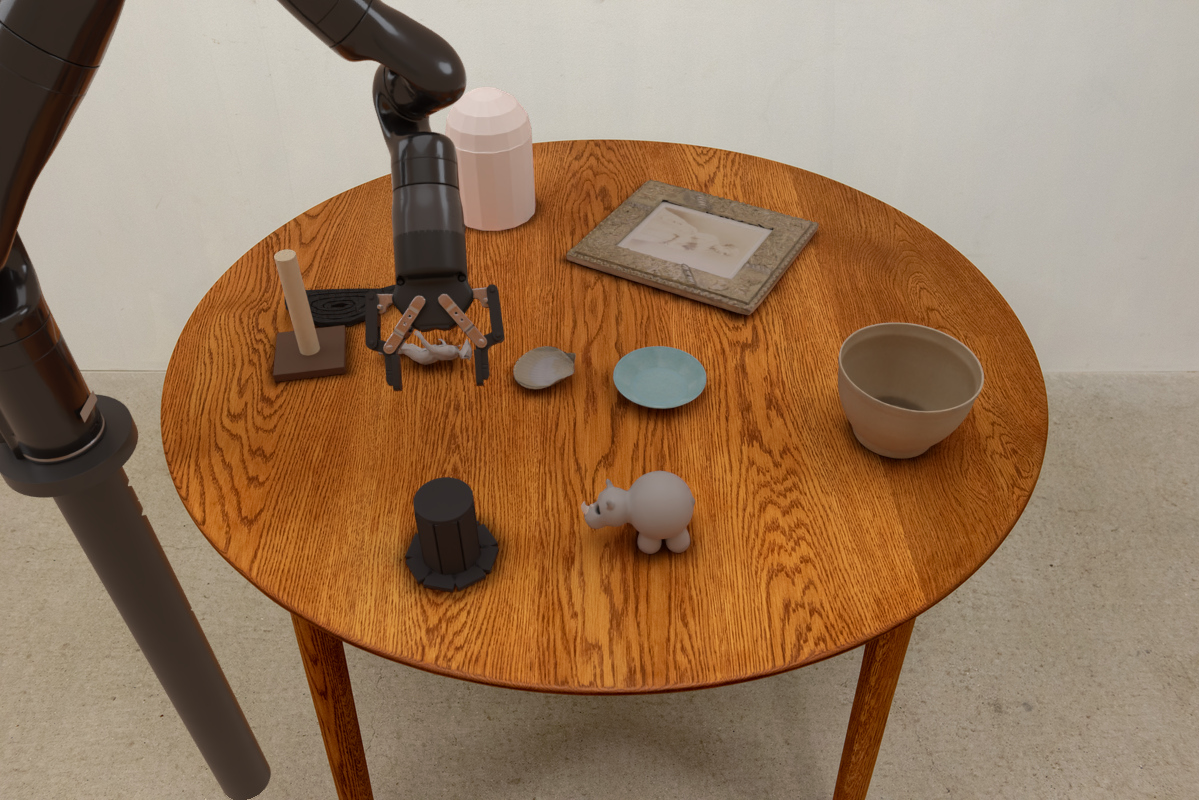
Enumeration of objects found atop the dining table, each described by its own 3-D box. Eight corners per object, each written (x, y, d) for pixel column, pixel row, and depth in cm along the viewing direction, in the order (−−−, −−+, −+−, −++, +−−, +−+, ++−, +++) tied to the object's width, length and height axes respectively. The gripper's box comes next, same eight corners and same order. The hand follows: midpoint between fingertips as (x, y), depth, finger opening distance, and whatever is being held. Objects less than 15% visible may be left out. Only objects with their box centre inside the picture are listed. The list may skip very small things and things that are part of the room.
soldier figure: (398, 344, 129) (478, 326, 126) (403, 378, 129) (484, 361, 126) (369, 337, 122) (453, 318, 119) (374, 374, 121) (459, 355, 118)
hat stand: (274, 382, 122) (243, 280, 111) (279, 339, 129) (249, 239, 118) (345, 373, 123) (321, 271, 113) (346, 331, 130) (323, 231, 119)
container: (450, 191, 158) (437, 75, 144) (530, 184, 160) (524, 69, 146) (456, 234, 148) (442, 114, 135) (541, 226, 150) (535, 106, 136)
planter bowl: (966, 407, 119) (990, 339, 111) (950, 496, 107) (976, 427, 100) (838, 375, 123) (853, 308, 116) (811, 458, 112) (826, 389, 105)
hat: (407, 599, 97) (395, 543, 91) (404, 526, 104) (392, 470, 98) (503, 584, 98) (497, 528, 92) (493, 513, 106) (487, 457, 99)
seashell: (522, 368, 127) (509, 396, 120) (518, 347, 125) (505, 374, 118) (582, 364, 125) (573, 392, 118) (579, 343, 124) (569, 370, 117)
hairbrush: (469, 291, 132) (283, 312, 126) (470, 312, 134) (288, 334, 129) (460, 259, 138) (282, 277, 132) (461, 280, 140) (286, 299, 135)
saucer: (697, 427, 116) (698, 413, 114) (603, 412, 118) (603, 398, 116) (711, 366, 124) (712, 353, 123) (623, 353, 126) (624, 340, 125)
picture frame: (648, 186, 160) (648, 172, 158) (818, 231, 148) (820, 216, 146) (565, 263, 143) (565, 249, 141) (751, 321, 131) (752, 306, 129)
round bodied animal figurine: (582, 510, 106) (581, 456, 100) (689, 509, 106) (694, 456, 100) (581, 561, 101) (580, 508, 95) (693, 560, 101) (699, 507, 95)
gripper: (353, 230, 95) (364, 391, 94) (495, 222, 96) (506, 381, 96) (366, 246, 103) (376, 395, 102) (498, 238, 104) (508, 386, 103)
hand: (439, 388), depth 99 cm, fingers open, 8 cm apart
